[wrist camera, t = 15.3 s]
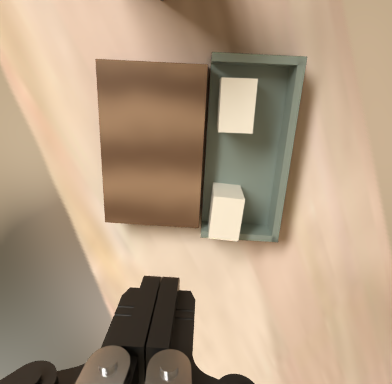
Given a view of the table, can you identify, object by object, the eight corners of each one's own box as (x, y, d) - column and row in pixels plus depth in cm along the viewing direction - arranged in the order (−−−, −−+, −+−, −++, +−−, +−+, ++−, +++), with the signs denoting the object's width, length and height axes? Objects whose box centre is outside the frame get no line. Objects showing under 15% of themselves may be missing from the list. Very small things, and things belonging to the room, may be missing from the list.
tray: (211, 55, 28) (211, 51, 25) (296, 60, 28) (307, 56, 25) (201, 224, 34) (200, 237, 31) (271, 228, 34) (277, 242, 31)
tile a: (221, 77, 24) (257, 78, 24) (219, 79, 29) (250, 80, 28) (218, 132, 26) (252, 133, 26) (216, 126, 30) (246, 127, 30)
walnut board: (106, 62, 29) (95, 58, 26) (207, 67, 29) (207, 64, 26) (113, 211, 34) (105, 222, 31) (199, 216, 34) (198, 228, 31)
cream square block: (213, 196, 28) (245, 199, 28) (213, 182, 32) (240, 185, 32) (208, 238, 29) (238, 241, 29) (208, 219, 34) (234, 222, 34)
